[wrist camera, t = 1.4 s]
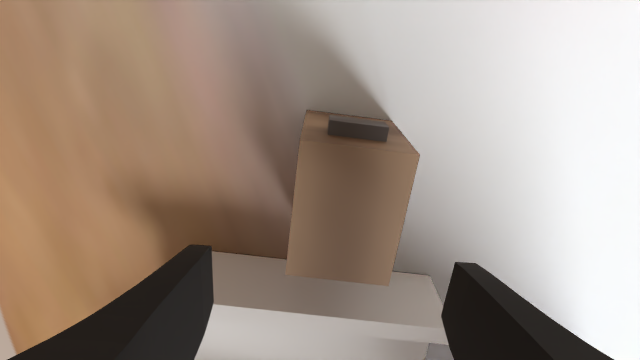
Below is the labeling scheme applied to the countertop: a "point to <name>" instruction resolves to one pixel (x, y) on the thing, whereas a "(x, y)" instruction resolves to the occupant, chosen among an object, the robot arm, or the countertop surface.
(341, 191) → the cabinet block
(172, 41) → the countertop surface
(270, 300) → the white stand
